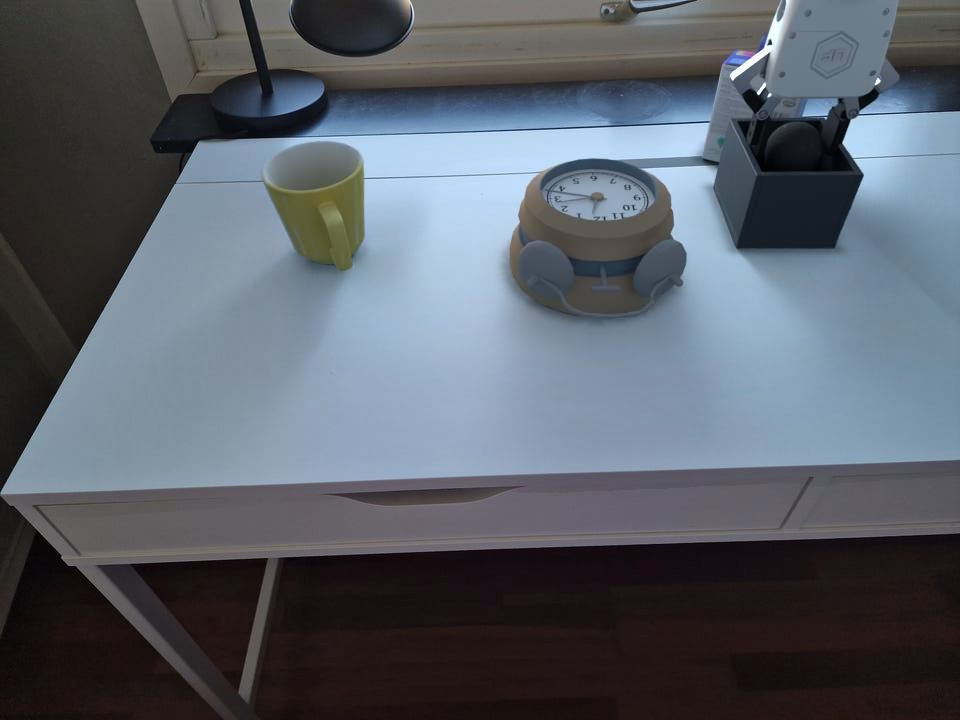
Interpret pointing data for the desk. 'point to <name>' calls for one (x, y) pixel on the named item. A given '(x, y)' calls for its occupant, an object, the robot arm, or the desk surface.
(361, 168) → the mug
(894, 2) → the robot arm
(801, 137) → the light bulb
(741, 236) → the trash bin
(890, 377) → the desk surface
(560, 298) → the alarm clock
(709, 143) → the ink cartridge box
